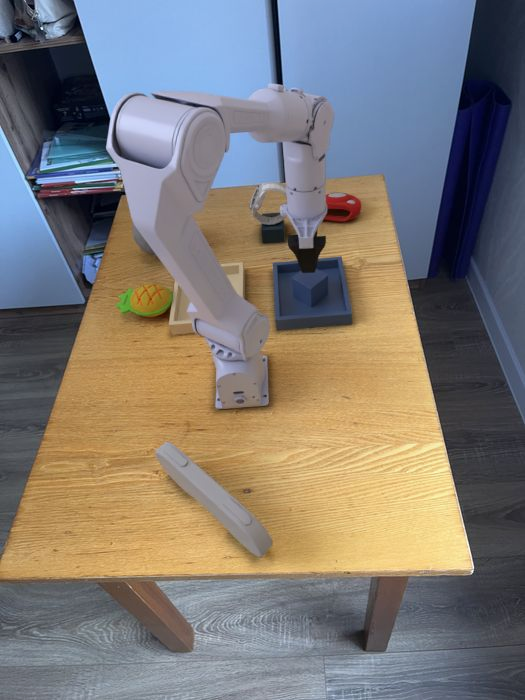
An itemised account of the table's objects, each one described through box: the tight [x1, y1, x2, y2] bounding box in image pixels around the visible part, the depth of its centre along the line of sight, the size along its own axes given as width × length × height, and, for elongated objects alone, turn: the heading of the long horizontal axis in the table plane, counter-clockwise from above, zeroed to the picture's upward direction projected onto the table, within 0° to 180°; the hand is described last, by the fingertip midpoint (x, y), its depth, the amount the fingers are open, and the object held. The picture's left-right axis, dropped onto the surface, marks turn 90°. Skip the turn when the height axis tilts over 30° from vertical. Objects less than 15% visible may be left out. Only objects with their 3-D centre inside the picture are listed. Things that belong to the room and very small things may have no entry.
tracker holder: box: [323, 191, 362, 223], centre depth 104 cm, size 12×4×10 cm
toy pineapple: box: [115, 283, 173, 318], centre depth 90 cm, size 7×10×5 cm
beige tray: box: [168, 261, 246, 336], centre depth 91 cm, size 15×13×2 cm
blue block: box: [292, 269, 328, 307], centre depth 88 cm, size 4×4×4 cm
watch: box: [249, 181, 287, 244], centre depth 99 cm, size 6×8×11 cm
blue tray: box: [272, 256, 353, 331], centre depth 89 cm, size 15×13×2 cm
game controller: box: [154, 441, 274, 558], centre depth 64 cm, size 20×2×8 cm, turn 47°
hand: (308, 255), depth 83 cm, fingers open, 7 cm apart
